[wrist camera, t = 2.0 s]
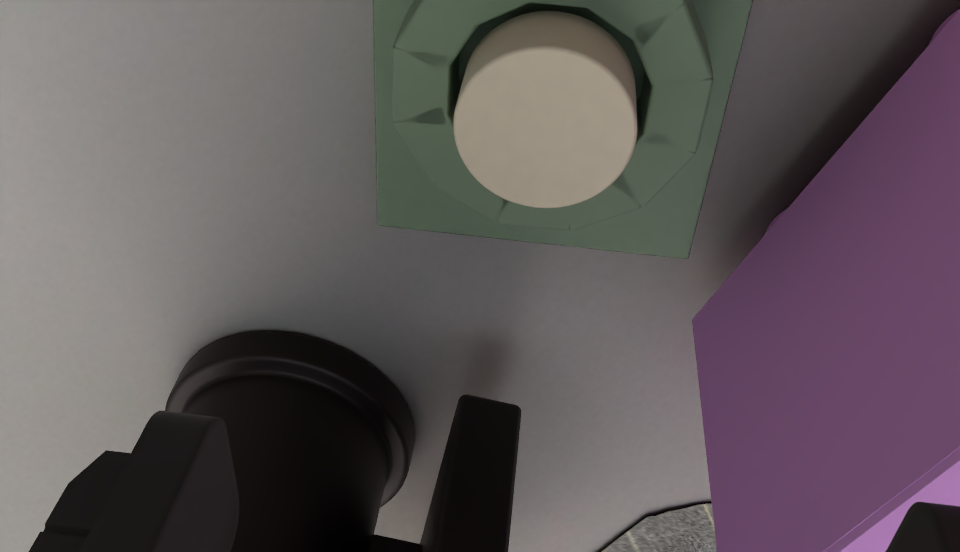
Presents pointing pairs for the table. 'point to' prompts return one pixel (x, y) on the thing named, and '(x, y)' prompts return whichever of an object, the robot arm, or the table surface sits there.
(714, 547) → the sculpture
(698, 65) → the block
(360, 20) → the table surface
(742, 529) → the teapot
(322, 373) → the light fixture
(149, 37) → the table surface
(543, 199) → the button
